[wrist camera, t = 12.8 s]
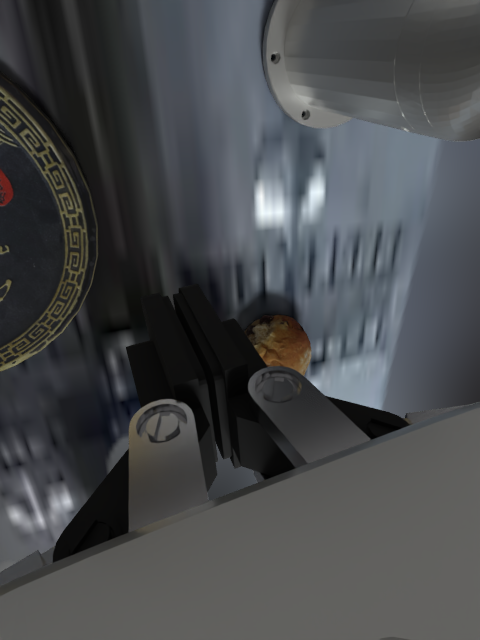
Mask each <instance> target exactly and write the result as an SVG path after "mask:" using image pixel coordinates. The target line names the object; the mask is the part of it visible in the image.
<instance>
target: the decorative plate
mask: <svg viewBox="0 0 480 640" xmlns="http://www.w3.org/2000/svg"><path fill="white" fill-rule="evenodd" d="M97 257H98V222H97V218H96V214H95V209H94V205H93V200H92V196H91V191H90V188H89V186H88V184H87V182H86V179H85V177H84V175H83V173H82V170H81V168H80V166H79V164H78V161H77V159H76V157H75V155H74V153H73V152H72V150H71V149H70V147H69V146H68V144H67V143H66V141H65V140H64V139H63V137H62V136H61V134H60V133H59V131H58V130H57V128H56V127H55V125H54V124H53V122H52V121H51V120H50V119H49V117H48V116H47V115H46V114H45V113H44V112H43V111H42V110H41V109H40V108H39V107H38V106H37V105H36V104H35V103H34V102H33V101H32V99H31V98H30V97H29V96H28V95H27V94H26V93H25V92H24V91H23V90H22V89H21V88H20V87H19V86H18V85H17V84H16V83H14V82H13V81H12V80H11V79H9V78H8V77H7V76H5V75H4V74H3V73H2V72H0V371H3V370H5V369H8V368H10V367H13V366H15V365H17V364H19V363H21V362H22V361H24V360H26V359H27V358H29V357H31V356H32V355H34V354H36V353H38V352H39V351H41V350H42V349H43V348H44V347H46V346H47V345H48V344H49V343H50V342H51V341H53V340H54V339H55V338H56V337H57V336H58V335H60V334H61V333H62V332H63V331H64V329H65V328H66V327H67V325H68V324H69V323H70V322H71V320H72V319H73V318H74V316H75V315H76V314H77V313H78V311H79V310H80V308H81V306H82V303H83V301H84V299H85V297H86V295H87V293H88V291H89V289H90V286H91V284H92V281H93V276H94V271H95V267H96V262H97Z"/></svg>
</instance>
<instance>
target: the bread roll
mask: <svg viewBox="0 0 480 640" xmlns="http://www.w3.org/2000/svg"><path fill="white" fill-rule="evenodd" d="M244 333H245V334H246V336H247V337H248V339H249V340H250V342H251V343H252V344H253V346H254V347H255V349H256V350H257V352H258V353H259V355H260V356H261V358H262V359H263V361H264V362H265V364H266V365H267V366H268V367H270V366H283V367H289V368H292V369H294V370H296V371H298V372H299V373H301V374H302V375H304V374H305V371H306V369H307V367H308V365H309V363H310V359H311V347H310V341H309V339H308V336H307V334H306V333H305V331H304V330H303V328H302V327H301V326H300V324H299V323H298V322H297V321H296V320H294V319H293V318H291V317H289V316H285V315H273V316H267V315H265V316H262V317H261V319H258V320H256V321H254V322H253V323H252V324H251V325H250V326H248V328H247V329H246V330H245V331H244ZM263 344H264V345H263Z"/></svg>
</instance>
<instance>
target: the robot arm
mask: <svg viewBox="0 0 480 640" xmlns="http://www.w3.org/2000/svg"><path fill="white" fill-rule="evenodd" d="M272 54H273V56H274V59H273V61H271V55H272ZM263 66H264V72H265V77H266V81H267V84H268V87H269V89H270V92H271V94H272V96H273V98H274V100H275V101H276V103H277V105H278V106H279V107H280V108H281V109H282V111H283V112H284V113H285V114H286V115H287V116H289V117H290V118H292V119H293V120H294V121H296V122H298V123H301V124H303V125H305V126H309V127H313V128H331V127H336V126H339V125H341V124H343V123H346V122H348V121H349V120H351V119H352V118H355V119H359V120H363V121H367V122H371V123H375V124H380V125H384V126H388V127H392V128H396V129H400V130H404V131H408V132H412V133H416V134H420V135H425V136H429V137H433V138H438V139H442V140H448V141H470V140H475V139H479V138H480V0H275V1H274V3H273V5H272V7H271V9H270V12H269V15H268V19H267V23H266V26H265V31H264V39H263ZM302 112H303V116H302ZM173 300H174V305H175V310H174V308H173V305H172V303H171V301H170V299H169V297H168V296H165V297H161V295H160V293H156V294H152V295H148V296H143V297H141V302H142V307H143V311H144V316H145V320H146V325H147V329H148V334H149V338H150V341H147V342H143V343H139V344H135V345H132V346H128V347H126V350H127V354H128V358H129V362H130V366H131V370H132V374H133V378H134V382H135V385H136V389H137V393H138V397H139V401H140V405H141V409H140V410H139V411H138V412H137V413H136V414H135V415H134V417H133V418H132V420H131V422H130V427H129V449H128V450H127V451H126V452H125V454H124V455H123V456H122V457H121V459H120V460H119V461H118V463H117V464H116V465H115V466H114V468H113V469H112V470H111V471H110V473H109V474H108V475H107V476H106V478H105V479H104V480H103V482H102V483H101V484H100V485H99V487H98V488H97V489H96V490H95V492H94V493H93V494H92V495H91V497H90V498H89V499H88V501H87V502H86V503H85V504H84V506H83V507H82V508H81V509H80V511H79V512H78V513H77V514H76V516H75V517H74V518H73V519H72V521H71V522H70V523H69V525H68V526H67V527H66V528H65V530H64V531H63V533H62V534H61V536H60V537H59V539H58V541H57V542H56V546H54V547H52V548H51V549H49V550H47V551H46V552H44V553H42V554H41V553H40V552H39V550H37V551H35V552H34V553H32V554H30V555H29V556H27V557H25V558H23V559H22V560H20V561H18V562H17V563H15V564H13V565H12V566H10V567H8V568H7V569H5V570H3V571H1V572H0V640H480V402H478V403H475V404H471V405H464V406H456V407H449V408H442V409H434V410H427V411H420V412H413V413H406V415H405V418H401V417H399V416H397V415H395V414H392V413H389V412H386V411H382V410H378V409H374V408H370V407H366V406H363V405H359V404H355V403H351V402H347V401H343V400H339V399H335V398H331V397H328V396H324V395H323V394H322V393H321V392H320V391H319V390H318V389H317V388H316V387H315V386H314V385H313V384H312V383H311V382H310V381H308V380H307V379H306V378H305V377H304V376H303V375H302V374H301V373H299V372H298V371H296V370H294V369H292V368H289V367H283V366H270V367H268V366H267V365H266V364H265V362H264V361H263V359H262V358H261V356H260V355H259V353H258V352H257V350H256V349H255V347H254V346H253V344H252V343H251V342H250V340H249V339H248V337H247V336H246V334H245V333H244V331H243V330H242V328H241V327H240V325H239V324H238V323H237V321H236V320H235V319H230V320H227V321H223V322H221V321H220V319H219V317H218V316H217V314H216V313H215V311H214V309H213V308H212V306H211V305H210V303H209V301H208V300H207V298H206V297H205V295H204V293H203V292H202V290H201V289H200V287H199V285H198V284H195V285H191V286H186V287H182V288H179V293H178V294H174V295H173ZM175 311H176V312H175ZM215 441H216V443H215ZM216 444H217V446H218V449H219V451H220V453H221V456H222V458H223V459H226V458H229V457H230V459H231V461H232V463H233V466H234V467H235V468H238V467H241V466H243V467H246V468H249V469H252V470H253V471H254V476H255V478H256V480H257V482H258V483H256V484H254V485H251V486H248V487H246V488H243V489H240V490H238V491H235V492H233V493H230V494H227V495H225V496H222V497H219V498H217V499H214V500H212V501H209V500H208V494H207V492H208V490H209V489H210V486H211V485H212V483H213V481H214V479H215V478H216V476H217V470H216V463H215V462H217V461H218V458H217V450H216Z"/></svg>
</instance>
